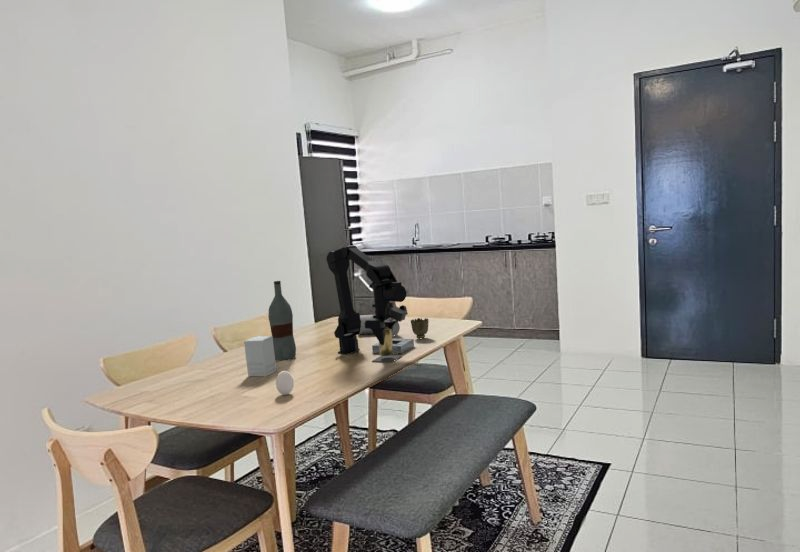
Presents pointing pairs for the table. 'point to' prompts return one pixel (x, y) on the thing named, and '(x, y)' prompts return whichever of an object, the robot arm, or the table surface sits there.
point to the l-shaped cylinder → (369, 331)
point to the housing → (396, 345)
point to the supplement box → (260, 356)
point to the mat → (386, 358)
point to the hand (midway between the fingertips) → (385, 343)
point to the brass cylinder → (387, 343)
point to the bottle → (281, 326)
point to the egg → (284, 382)
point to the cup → (420, 327)
